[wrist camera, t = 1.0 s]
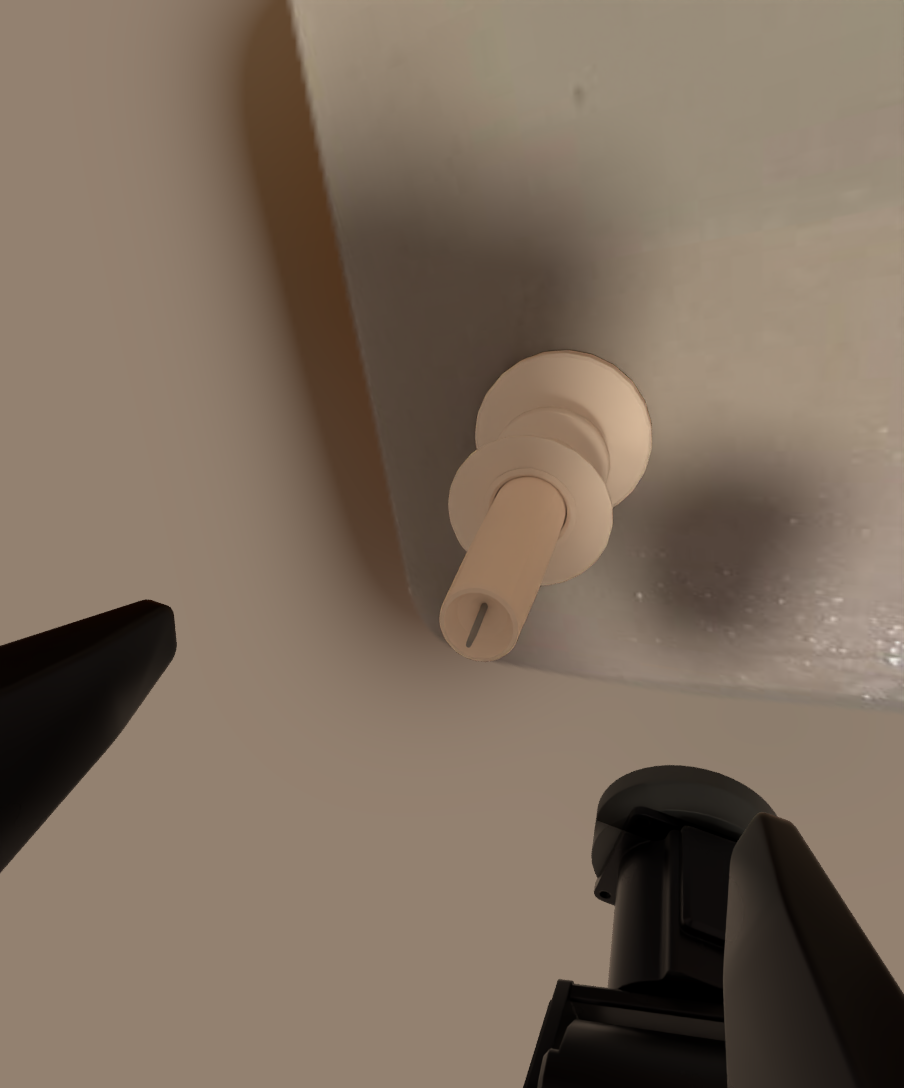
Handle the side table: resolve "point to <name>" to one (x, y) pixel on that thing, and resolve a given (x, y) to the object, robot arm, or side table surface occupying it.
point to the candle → (539, 490)
